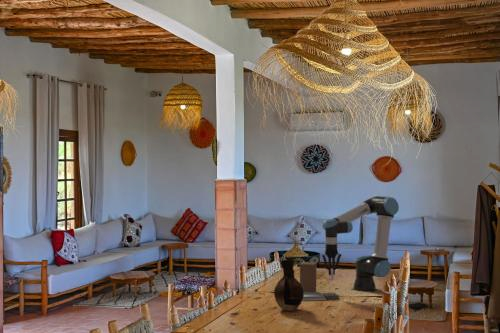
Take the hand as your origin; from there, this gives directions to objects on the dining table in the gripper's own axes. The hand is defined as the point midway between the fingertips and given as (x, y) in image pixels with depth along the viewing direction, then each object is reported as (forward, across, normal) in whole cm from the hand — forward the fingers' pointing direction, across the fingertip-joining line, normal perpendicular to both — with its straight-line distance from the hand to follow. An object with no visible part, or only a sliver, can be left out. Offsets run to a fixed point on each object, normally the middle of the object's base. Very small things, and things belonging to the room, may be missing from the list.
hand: (331, 280), depth 445 cm
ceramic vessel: (+11, +35, +32) cm, 49 cm away
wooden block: (+12, +12, -18) cm, 24 cm away
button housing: (+12, +1, 0) cm, 12 cm away
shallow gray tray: (+11, +14, -1) cm, 18 cm away
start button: (+11, +1, 0) cm, 11 cm away
